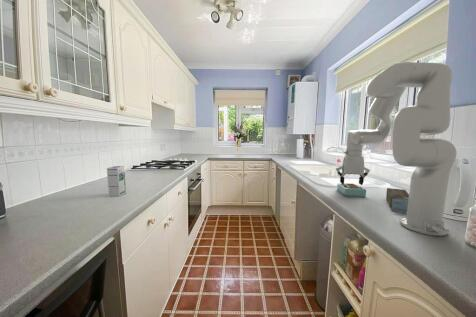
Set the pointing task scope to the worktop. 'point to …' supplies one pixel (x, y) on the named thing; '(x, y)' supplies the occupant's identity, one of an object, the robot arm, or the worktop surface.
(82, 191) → the worktop surface
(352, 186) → the small crate
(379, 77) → the robot arm
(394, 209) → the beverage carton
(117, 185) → the syrup box
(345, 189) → the box
